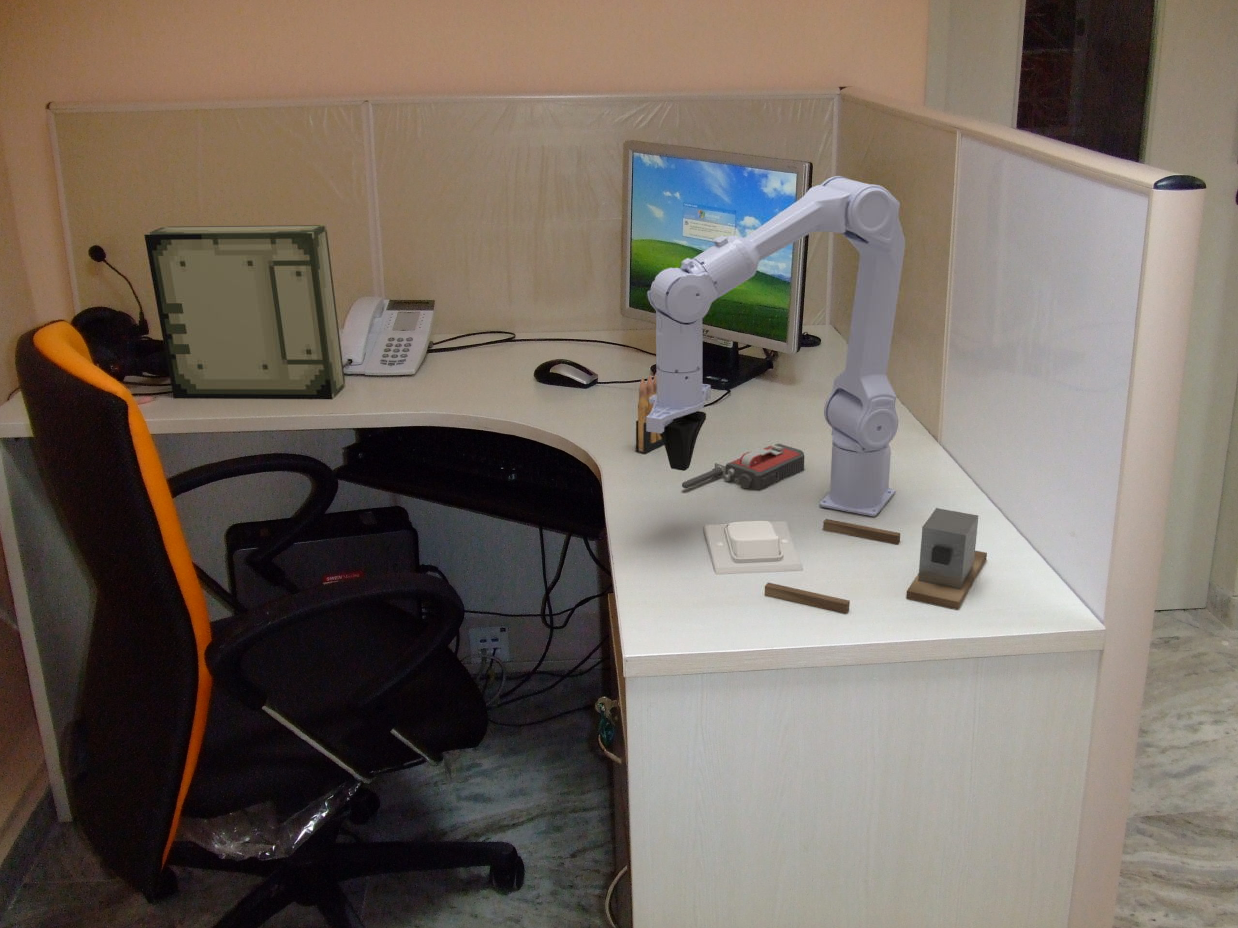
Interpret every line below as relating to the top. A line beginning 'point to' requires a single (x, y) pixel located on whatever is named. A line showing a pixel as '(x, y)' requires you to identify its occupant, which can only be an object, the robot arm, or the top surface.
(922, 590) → the mounting board
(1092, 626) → the top surface
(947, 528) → the junction box
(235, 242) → the control panel
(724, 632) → the top surface
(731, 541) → the light switch
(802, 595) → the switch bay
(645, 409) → the ammunition clip
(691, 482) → the walkie-talkie
